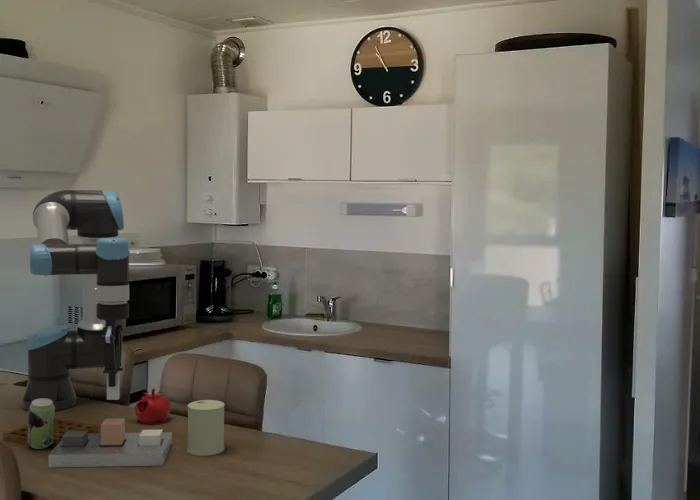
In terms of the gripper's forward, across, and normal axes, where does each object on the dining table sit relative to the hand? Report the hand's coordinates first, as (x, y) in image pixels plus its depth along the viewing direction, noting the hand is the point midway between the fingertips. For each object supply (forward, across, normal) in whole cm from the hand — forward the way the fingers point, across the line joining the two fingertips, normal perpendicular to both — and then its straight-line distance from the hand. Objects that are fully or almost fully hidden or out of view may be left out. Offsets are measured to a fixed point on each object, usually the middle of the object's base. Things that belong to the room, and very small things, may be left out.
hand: (113, 398), depth 185 cm
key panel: (+14, 0, 0) cm, 14 cm away
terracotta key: (+11, 0, 0) cm, 11 cm away
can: (+14, -3, +22) cm, 26 cm away
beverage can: (+14, -7, -19) cm, 25 cm away
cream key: (+14, 0, +9) cm, 16 cm away
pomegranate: (+14, -29, +5) cm, 33 cm away
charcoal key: (+14, 0, -9) cm, 16 cm away
